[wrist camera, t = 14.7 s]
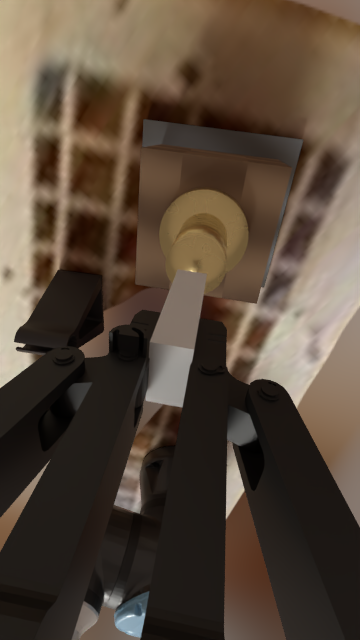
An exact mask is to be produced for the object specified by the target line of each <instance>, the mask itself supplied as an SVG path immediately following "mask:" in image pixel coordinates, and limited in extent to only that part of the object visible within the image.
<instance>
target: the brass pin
mask: <svg viewBox="0 0 360 640" xmlns="http://www.w3.org/2000/svg"><path fill="white" fill-rule="evenodd" d="M159 239H160V245H161V249H162V251H163V254H164V255H165V257H166V263H165V267H166V273H167V276H168V278H169V280H170V281H171V283H173V280H174V278H175V275H176V272H177V270H178V269H179V270H185V271H192V272H198V273H205V274H207V277H206V283H205V289H204V294H205V293H208V292H211V291H212V290H214V289H215V288H217V287H218V286H219V285H220V283H221V282H222V280H223V278H224V276H225V273H227V272H229V271H230V270H231V269H233V268H234V267H235V266H236V265H237V264H238V263H239V261H240V260H241V258H242V257H243V255H244V253H245V251H246V248H247V244H248V225H247V220H246V217H245V214H244V212H243V210H242V208H241V206H240V205H239V204H238V202H237V201H236V200H235V199H234V198H233V197H231V196H230V195H229V194H227V193H225V192H223V191H221V190H218V189H214V188H207V187H203V188H196V189H192V190H189V191H187V192H185V193H183V194H182V195H180V196H179V197H178V198H177V199H175V200H174V201H173V203H172V204H171V205H170V206H169V208H168V209H167V210H166V212H165V214H164V216H163V218H162V221H161V224H160V230H159Z"/></svg>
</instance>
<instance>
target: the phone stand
mask: <svg viewBox="0 0 360 640" xmlns="http://www.w3.org/2000/svg"><path fill="white" fill-rule="evenodd" d="M102 304H103V294H102V276H101V275H93V274H86V273H78V272H71V271H64V270H58V271H57V273H56V274H55V276H54V278H53V279H52V281H51V283H50V284H49V286H48V288H47V289H46V291H45V293H44V294H43V296H42V298H41V299H40V301H39V303H38V304H37V306H36V308H35V310H34V311H33V313H32V315H31V316H30V318H29V319H28V321H27V322H26V323H25V324H24V325H23V326H21V327H20V328H19V329H18V331H17V332H16V335H15V339H14V342H17V343H23V344H26V345H25V346H24V347H23V348H21V347H17V348H16V350H17V351H20V352H26V353H33V354H39V355H45V354H46V353H47V352H49V351H51V350H53V349H55V348H59V347H67V346H70V347H75V348H79V347H81V346H82V345H84V344H85V343H87V342H88V341H90V340H92V339H93V338H95V337H96V336H97V335H99V334H101V333H102V332H103V331H104V319H103V305H102Z"/></svg>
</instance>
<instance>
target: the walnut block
mask: <svg viewBox="0 0 360 640" xmlns="http://www.w3.org/2000/svg"><path fill="white" fill-rule="evenodd" d="M302 143H303V140H302V139H295V138H287V137H279V136H271V135H263V134H256V133H248V132H240V131H232V130H224V129H217V128H209V127H201V126H193V125H185V124H178V123H170V122H162V121H154V120H146V119H144V122H143V144H142V147H141V160H140V183H139V206H138V229H137V252H136V275H135V284H137V285H143V286H149V287H156V288H162V289H168V290H170V288H171V285H172V283H171V281H170V280H169V278H168V276H167V273H166V267H165V263H166V257H165V255H164V254H163V251H162V249H161V245H160V239H159V230H160V224H161V221H162V218H163V216H164V214H165V212H166V210H167V209H168V208H169V206H170V205H171V204H172V203H173V201H174V200H175V199H177V198H178V197H179V196H180V195H182V194H183V193H185V192H187V191H189V190H192V189H196V188H203V187H207V188H214V189H218V190H221V191H223V192H225V193H227V194H229V195H230V196H231V197H233V198H234V199H235V200H236V201H237V202H238V204H239V205H240V206H241V208H242V210H243V212H244V214H245V217H246V220H247V225H248V244H247V248H246V251H245V253H244V255H243V257H242V258H241V260H240V261H239V263H238V264H237V265H236V266H235V267H234V268H233V269H231V270H230V271H229V272H227V273H225V276H224V278H223V280H222V282H221V283H220V285H219V286H218V287H217V288H215V289H214V290H212V291H211V292H208V293H205V294H204V295H206V296H212V297H218V298H225V299H231V300H237V301H244V302H250V303H256V304H257V300H258V296H259V293H260V289H261V287H264V285H265V282H266V278H267V274H268V270H269V267H270V263H271V259H272V256H273V252H274V248H275V244H276V241H277V237H278V233H279V229H280V226H281V222H282V218H283V214H284V211H285V207H286V203H287V199H288V196H289V192H290V188H291V184H292V181H293V177H294V173H295V169H296V166H297V162H298V158H299V154H300V151H301V147H302Z"/></svg>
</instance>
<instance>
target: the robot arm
mask: <svg viewBox="0 0 360 640" xmlns="http://www.w3.org/2000/svg"><path fill="white" fill-rule="evenodd" d="M206 277H207V274H205V273H198V272H192V271H185V270H179V269H178V270H177V272H176V275H175V278H174V280H173V283H172V285H171V288H170V291H169V293H168V296H167V298H166V301H165V304H164V307H163V309H162V311H161V313H159V312H153V311H147V310H142V311H140V312H139V313H137V314H136V315H135V316H134V318H133V320H132V322H131V324H130V325H121V326H117V327H115V328H113V329H112V330H111V331H110V332H109V353H108V355H106V356H103V357H94V358H85V356H84V354H83V352H82V351H81V350H79V349H78V348H75V347H70V346H67V347H59V348H55V349H53V350H51V351H49V352H47V353H46V354H45V355H43V356H42V357H41V358H39V359H38V360H37V361H36V362H34V363H33V364H32V365H30V366H29V367H28V368H26V369H25V370H24V371H22V372H21V373H20V374H18V375H17V376H16V377H15V378H13V379H12V380H11V381H9V382H8V383H7V384H5V385H4V386H3V387H1V388H0V517H1V516H2V515H3V514H4V513H5V512H6V510H7V509H8V508H9V507H10V506H11V505H12V503H13V502H14V501H15V500H16V499H17V498H18V496H19V495H20V494H21V493H22V492H23V491H24V489H25V488H26V487H27V486H28V485H29V484H30V482H31V481H32V480H33V479H34V478H35V477H36V476H37V474H38V473H39V472H40V471H41V470H42V469H43V467H44V466H45V465H46V464H47V463H48V462H49V460H50V459H51V460H50V462H49V464H48V465H47V467H46V469H45V471H44V473H43V475H42V476H41V478H40V480H39V482H38V484H37V485H36V487H35V489H34V491H33V493H32V495H31V497H30V498H29V500H28V502H27V504H26V506H25V508H24V509H23V511H22V513H21V515H20V517H19V519H18V520H17V522H16V524H15V526H14V528H13V530H12V532H11V533H10V535H9V537H8V539H7V541H6V542H5V544H4V546H3V548H2V550H1V552H0V640H79V639H80V637H81V635H82V634H83V633H84V632H85V631H86V630H88V629H89V628H90V627H92V626H93V625H94V624H95V623H96V622H97V620H98V617H99V613H100V610H101V606H105V607H108V608H111V609H114V610H116V611H115V614H114V618H115V625H116V627H117V628H118V629H119V630H120V631H124V632H125V633H126V634H128V635H132V636H135V637H141V639H140V640H225V639H224V586H225V585H224V583H225V530H226V473H227V440H228V441H230V442H233V449H234V452H235V456H236V460H237V463H238V467H239V470H240V474H241V478H242V481H243V485H244V489H245V492H246V495H247V499H248V503H249V506H250V510H251V514H252V517H253V520H254V525H255V528H256V532H257V535H258V539H259V543H260V546H261V550H262V553H263V557H264V561H265V564H266V568H267V572H268V575H269V579H270V582H271V586H272V589H273V593H274V597H275V600H276V604H277V608H278V611H279V614H280V618H281V622H282V626H283V629H284V632H285V636H286V640H360V527H359V525H358V523H357V521H356V520H355V518H354V516H353V514H352V512H351V510H350V508H349V507H348V504H347V503H346V501H345V499H344V497H343V495H342V493H341V491H340V490H339V488H338V486H337V484H336V482H335V480H334V478H333V477H332V475H331V473H330V471H329V469H328V467H327V465H326V463H325V461H324V459H323V458H322V456H321V454H320V452H319V450H318V448H317V446H316V444H315V442H314V441H313V439H312V437H311V435H310V433H309V431H308V429H307V428H306V426H305V424H304V422H303V420H302V418H301V416H300V414H299V412H298V410H297V409H296V407H295V405H294V403H293V401H292V399H291V397H290V395H289V394H288V392H287V391H286V390H285V388H284V387H282V386H281V385H279V384H278V383H276V382H273V381H271V380H265V379H260V380H255V381H253V382H251V383H250V385H248V384H245V383H243V382H241V381H239V380H237V379H235V378H234V377H233V376H232V375H231V374H230V373H229V372H228V369H227V367H226V339H227V338H226V337H227V329H226V327H225V326H224V324H223V323H222V322H219V321H213V320H207V319H201V318H200V313H201V307H202V301H203V295H204V289H205V283H206ZM145 395H146V401H150V402H155V403H160V404H166V405H171V406H177V407H182V413H181V419H180V424H179V430H178V435H177V441H176V446H169V447H162V448H159V449H156V450H154V451H152V452H150V453H149V454H148V455H147V456H146V457H145V458H144V460H143V463H142V467H141V471H140V490H141V504H142V506H141V511H140V514H138V513H135V512H132V511H130V510H127V509H124V508H121V507H118V506H115V505H114V502H115V499H116V495H117V492H118V489H119V486H120V483H121V479H122V476H123V473H124V470H125V467H126V463H127V460H128V457H129V454H130V450H131V447H132V444H133V441H134V438H135V434H136V431H137V428H138V425H139V421H140V418H141V415H142V411H143V401H144V398H145Z"/></svg>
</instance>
